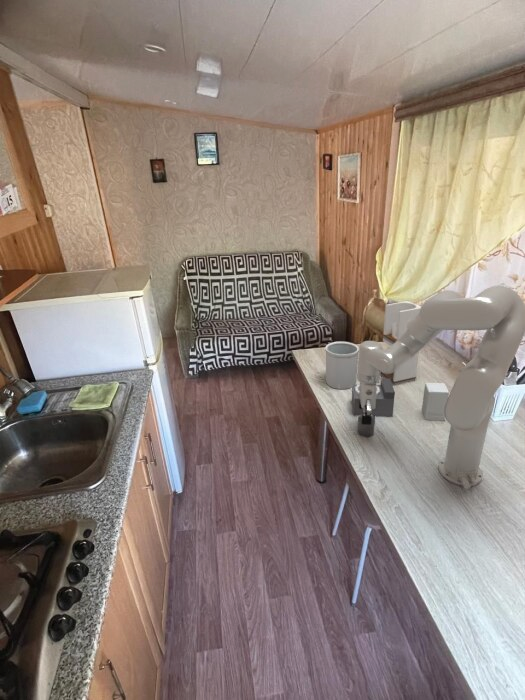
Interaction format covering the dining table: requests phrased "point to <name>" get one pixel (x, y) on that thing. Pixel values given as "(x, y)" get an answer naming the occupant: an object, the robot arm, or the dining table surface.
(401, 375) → the slotted white tower
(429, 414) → the supplement box
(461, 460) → the robot arm
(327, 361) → the utensil holder
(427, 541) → the dining table surface
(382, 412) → the camera body
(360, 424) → the lens
